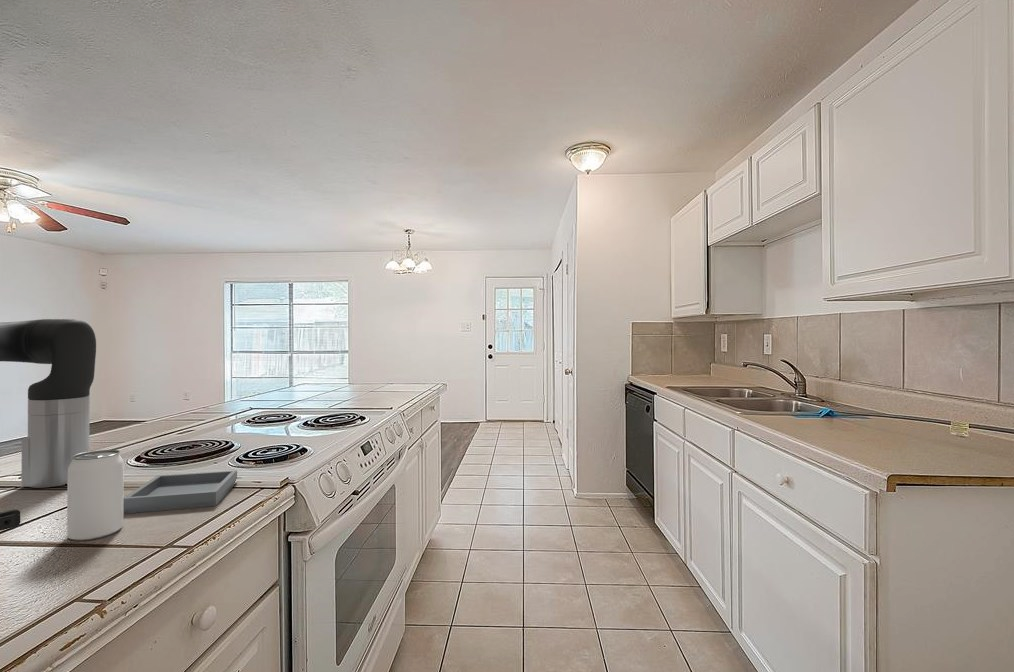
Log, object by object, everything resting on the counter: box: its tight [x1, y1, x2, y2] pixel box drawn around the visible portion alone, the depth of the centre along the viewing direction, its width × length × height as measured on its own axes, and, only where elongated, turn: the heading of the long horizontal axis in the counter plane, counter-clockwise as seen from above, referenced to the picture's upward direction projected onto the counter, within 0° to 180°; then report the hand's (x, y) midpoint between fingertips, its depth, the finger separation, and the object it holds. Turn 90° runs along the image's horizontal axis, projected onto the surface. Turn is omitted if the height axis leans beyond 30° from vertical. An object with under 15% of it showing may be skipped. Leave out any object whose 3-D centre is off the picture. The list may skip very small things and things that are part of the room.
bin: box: [123, 469, 238, 515], centre depth 89 cm, size 14×14×2 cm
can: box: [66, 449, 125, 542], centre depth 73 cm, size 6×6×12 cm
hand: (7, 510), depth 64 cm, fingers open, 8 cm apart
